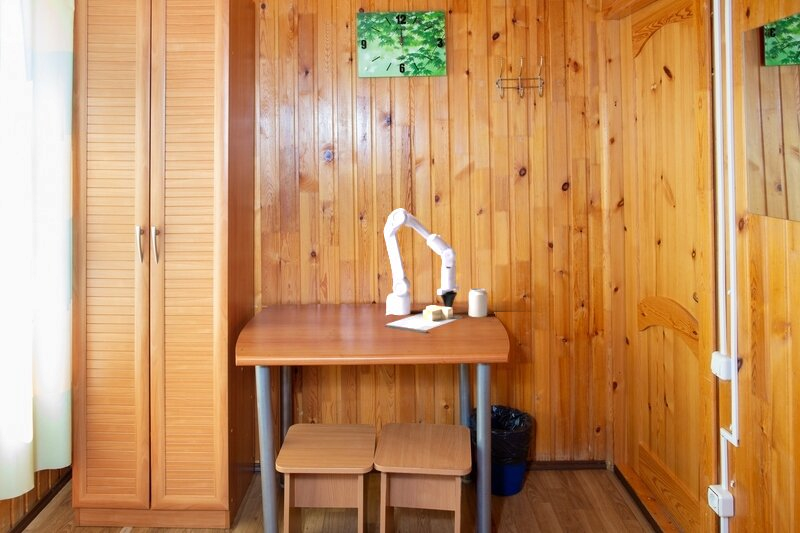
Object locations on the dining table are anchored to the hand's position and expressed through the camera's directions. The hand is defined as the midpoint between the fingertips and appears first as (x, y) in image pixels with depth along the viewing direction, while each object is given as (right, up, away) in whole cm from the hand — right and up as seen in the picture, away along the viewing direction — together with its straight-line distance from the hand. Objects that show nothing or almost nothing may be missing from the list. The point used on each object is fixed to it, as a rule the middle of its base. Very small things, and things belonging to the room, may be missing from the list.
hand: (448, 309), depth 272 cm
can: (+12, -4, -2) cm, 12 cm away
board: (-10, -5, -12) cm, 16 cm away
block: (-6, -3, -8) cm, 11 cm away
